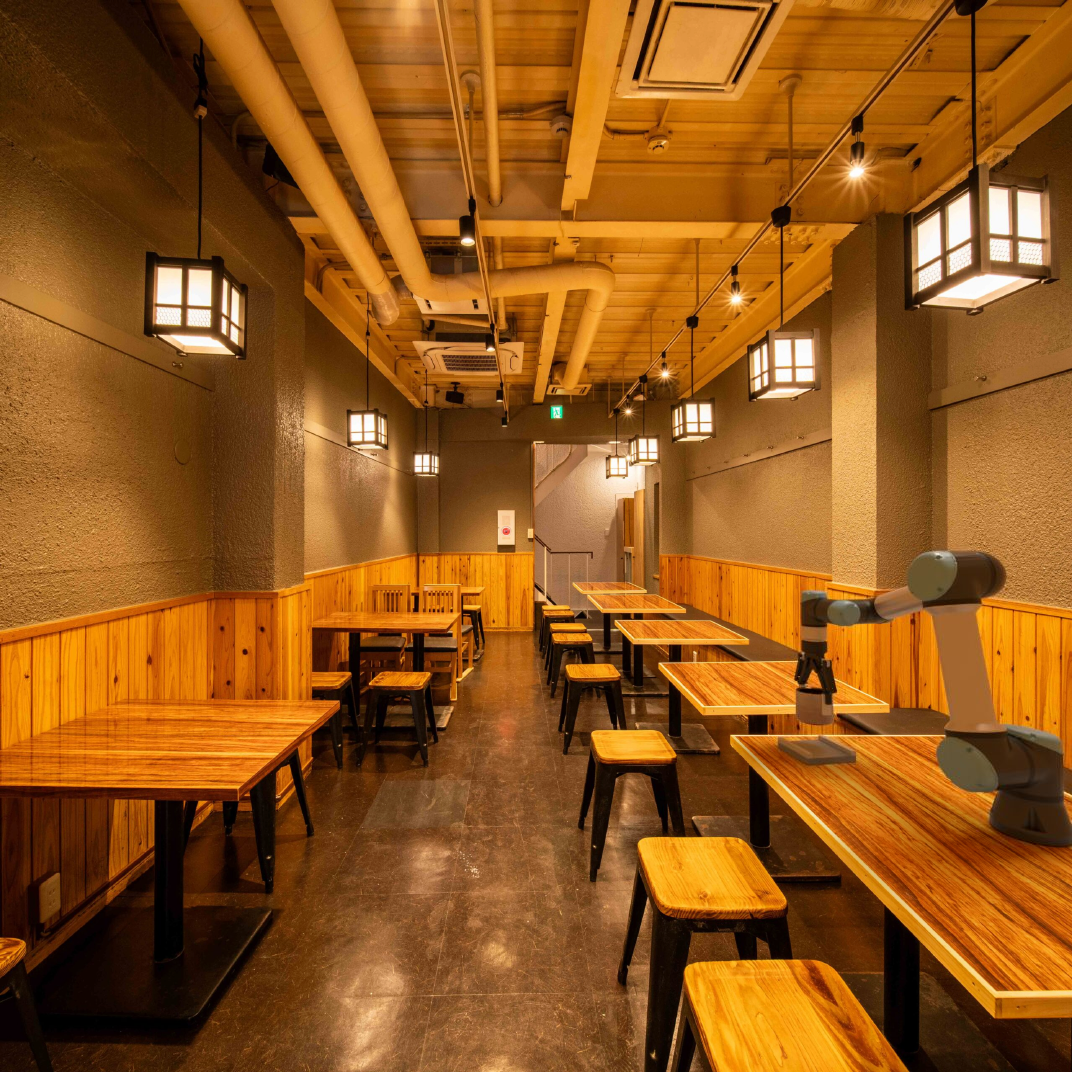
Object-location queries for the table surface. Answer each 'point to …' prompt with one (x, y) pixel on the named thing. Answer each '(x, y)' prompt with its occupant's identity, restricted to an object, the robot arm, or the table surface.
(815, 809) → the table surface
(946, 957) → the table surface
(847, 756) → the grey square tray
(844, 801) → the table surface
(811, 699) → the planter
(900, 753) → the table surface
